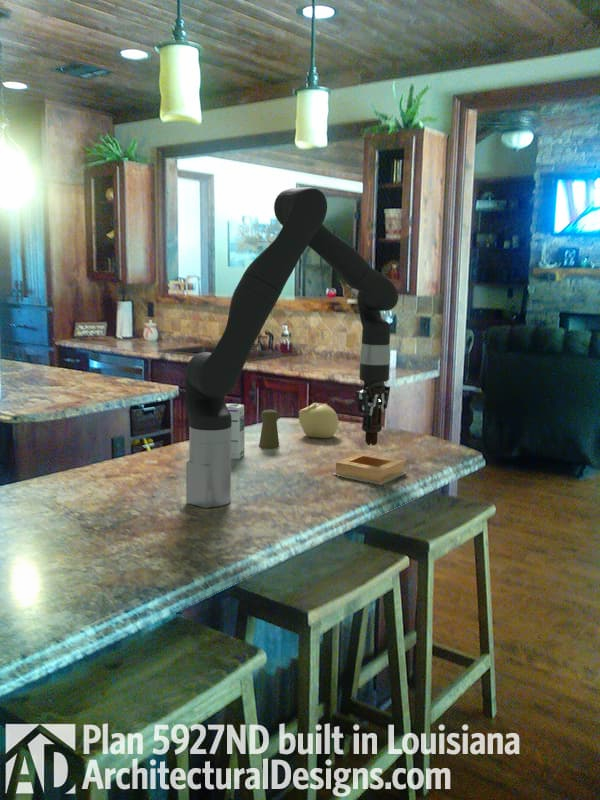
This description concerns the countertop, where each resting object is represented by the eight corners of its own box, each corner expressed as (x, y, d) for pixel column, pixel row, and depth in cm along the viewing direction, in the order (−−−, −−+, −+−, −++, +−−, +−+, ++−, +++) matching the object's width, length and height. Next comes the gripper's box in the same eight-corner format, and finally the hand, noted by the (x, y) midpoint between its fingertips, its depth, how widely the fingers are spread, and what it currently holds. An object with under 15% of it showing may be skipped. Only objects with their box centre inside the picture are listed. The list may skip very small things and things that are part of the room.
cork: (255, 444, 215) (256, 408, 214) (274, 443, 218) (275, 407, 216) (263, 449, 210) (264, 412, 208) (282, 448, 213) (283, 411, 211)
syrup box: (239, 459, 198) (240, 407, 196) (218, 458, 199) (219, 406, 197) (244, 454, 204) (245, 404, 201) (224, 453, 205) (224, 402, 202)
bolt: (382, 442, 188) (385, 385, 185) (382, 447, 183) (385, 388, 180) (359, 441, 188) (362, 384, 186) (359, 446, 183) (362, 387, 181)
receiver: (381, 485, 178) (381, 471, 177) (332, 475, 185) (333, 462, 185) (406, 473, 189) (407, 460, 189) (360, 464, 197) (360, 452, 196)
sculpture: (320, 431, 237) (321, 398, 235) (345, 438, 228) (346, 404, 226) (293, 435, 230) (293, 401, 228) (317, 442, 221) (318, 408, 219)
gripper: (374, 365, 174) (371, 434, 177) (401, 360, 186) (397, 425, 189) (347, 363, 178) (345, 430, 181) (375, 358, 190) (372, 421, 193)
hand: (372, 427), depth 185 cm, fingers closed on bolt, 4 cm apart
